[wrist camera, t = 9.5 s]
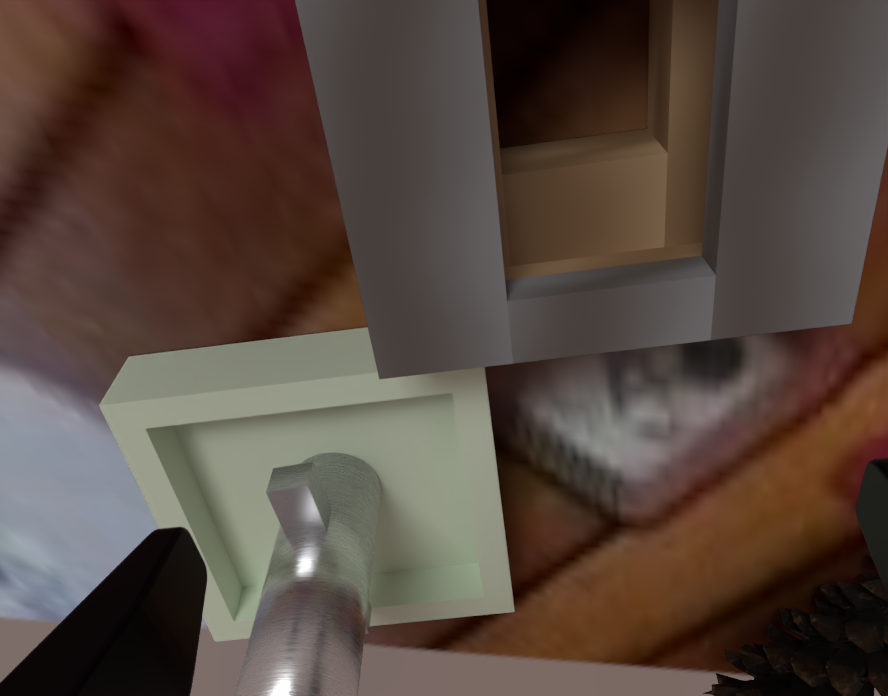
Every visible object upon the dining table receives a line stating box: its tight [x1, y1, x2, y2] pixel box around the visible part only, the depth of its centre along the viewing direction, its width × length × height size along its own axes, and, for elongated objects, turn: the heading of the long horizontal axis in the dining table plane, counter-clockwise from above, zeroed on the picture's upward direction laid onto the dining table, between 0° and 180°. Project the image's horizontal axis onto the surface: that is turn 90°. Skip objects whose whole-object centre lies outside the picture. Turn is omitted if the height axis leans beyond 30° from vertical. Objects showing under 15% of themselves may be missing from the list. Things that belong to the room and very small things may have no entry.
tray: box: [99, 327, 515, 642], centre depth 25 cm, size 11×11×2 cm
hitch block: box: [295, 0, 888, 379], centre depth 16 cm, size 11×11×5 cm
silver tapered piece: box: [234, 452, 381, 696], centre depth 20 cm, size 6×3×10 cm, turn 12°
